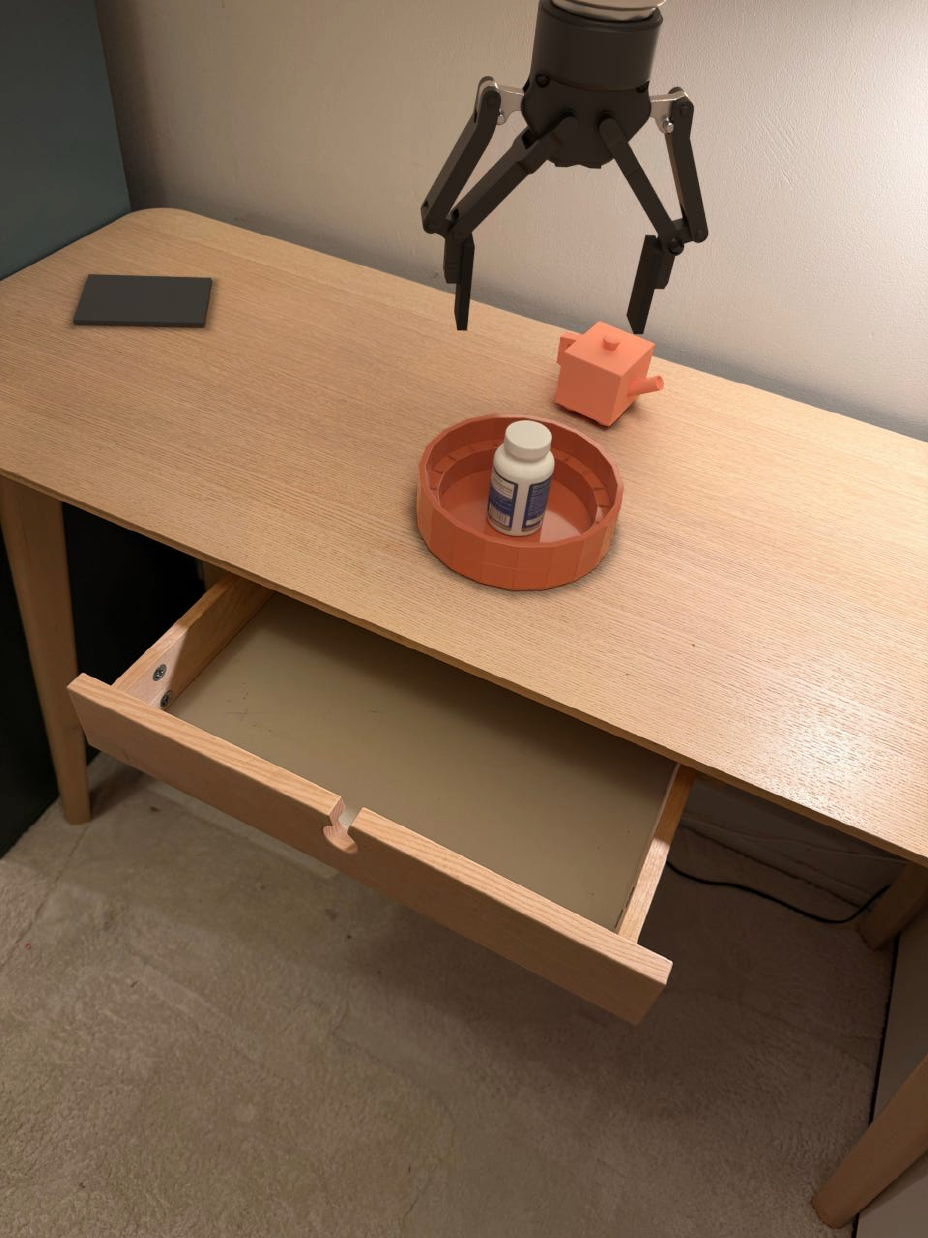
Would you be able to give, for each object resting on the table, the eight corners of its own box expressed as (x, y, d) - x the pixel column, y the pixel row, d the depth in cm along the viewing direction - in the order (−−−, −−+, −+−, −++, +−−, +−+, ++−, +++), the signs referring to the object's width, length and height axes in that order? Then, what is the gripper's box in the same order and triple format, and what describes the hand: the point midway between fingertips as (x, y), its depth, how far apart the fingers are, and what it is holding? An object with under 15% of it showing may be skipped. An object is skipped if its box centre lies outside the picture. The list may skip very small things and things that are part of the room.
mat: (74, 324, 100) (72, 319, 100) (89, 278, 107) (88, 273, 106) (204, 327, 102) (203, 322, 102) (212, 281, 109) (211, 277, 108)
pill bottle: (540, 500, 87) (557, 416, 79) (545, 539, 83) (562, 455, 76) (484, 497, 86) (495, 412, 79) (486, 537, 83) (498, 451, 76)
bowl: (423, 593, 78) (426, 547, 74) (411, 458, 90) (413, 412, 86) (629, 590, 80) (643, 546, 76) (590, 459, 92) (601, 414, 88)
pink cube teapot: (634, 446, 94) (653, 378, 88) (535, 401, 98) (547, 333, 92) (666, 411, 99) (686, 344, 92) (570, 370, 102) (584, 303, 96)
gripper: (782, -7, 58) (692, 301, 74) (388, -35, 55) (383, 293, 71) (824, 32, 53) (718, 353, 69) (394, 4, 50) (387, 346, 66)
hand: (548, 323), depth 70 cm, fingers open, 13 cm apart
